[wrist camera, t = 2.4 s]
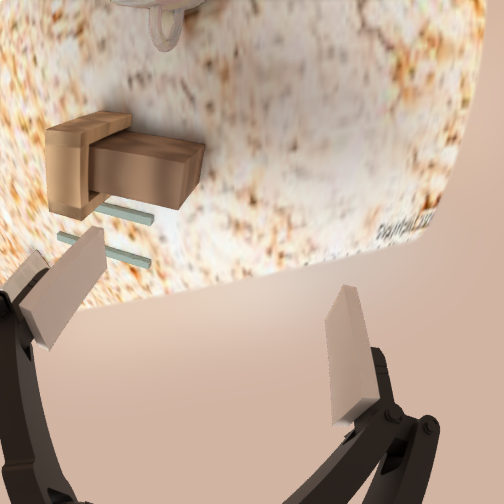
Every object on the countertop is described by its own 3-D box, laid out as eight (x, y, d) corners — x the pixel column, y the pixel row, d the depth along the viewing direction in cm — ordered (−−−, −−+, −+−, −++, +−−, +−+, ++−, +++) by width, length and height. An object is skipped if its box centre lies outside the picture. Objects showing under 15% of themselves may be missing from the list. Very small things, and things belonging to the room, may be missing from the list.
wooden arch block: (96, 177, 35) (49, 211, 26) (100, 111, 30) (45, 129, 21) (125, 183, 36) (81, 221, 27) (132, 114, 30) (80, 133, 21)
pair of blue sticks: (60, 237, 42) (57, 240, 41) (55, 190, 37) (52, 193, 36) (150, 265, 43) (148, 269, 42) (153, 215, 38) (150, 218, 37)
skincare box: (29, 255, 46) (-5, 292, 36) (37, 249, 44) (0, 287, 34) (46, 278, 48) (14, 317, 39) (55, 273, 47) (21, 314, 37)
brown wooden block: (92, 161, 34) (56, 183, 28) (93, 127, 32) (55, 142, 25) (198, 182, 35) (178, 210, 28) (205, 144, 32) (184, 163, 26)
